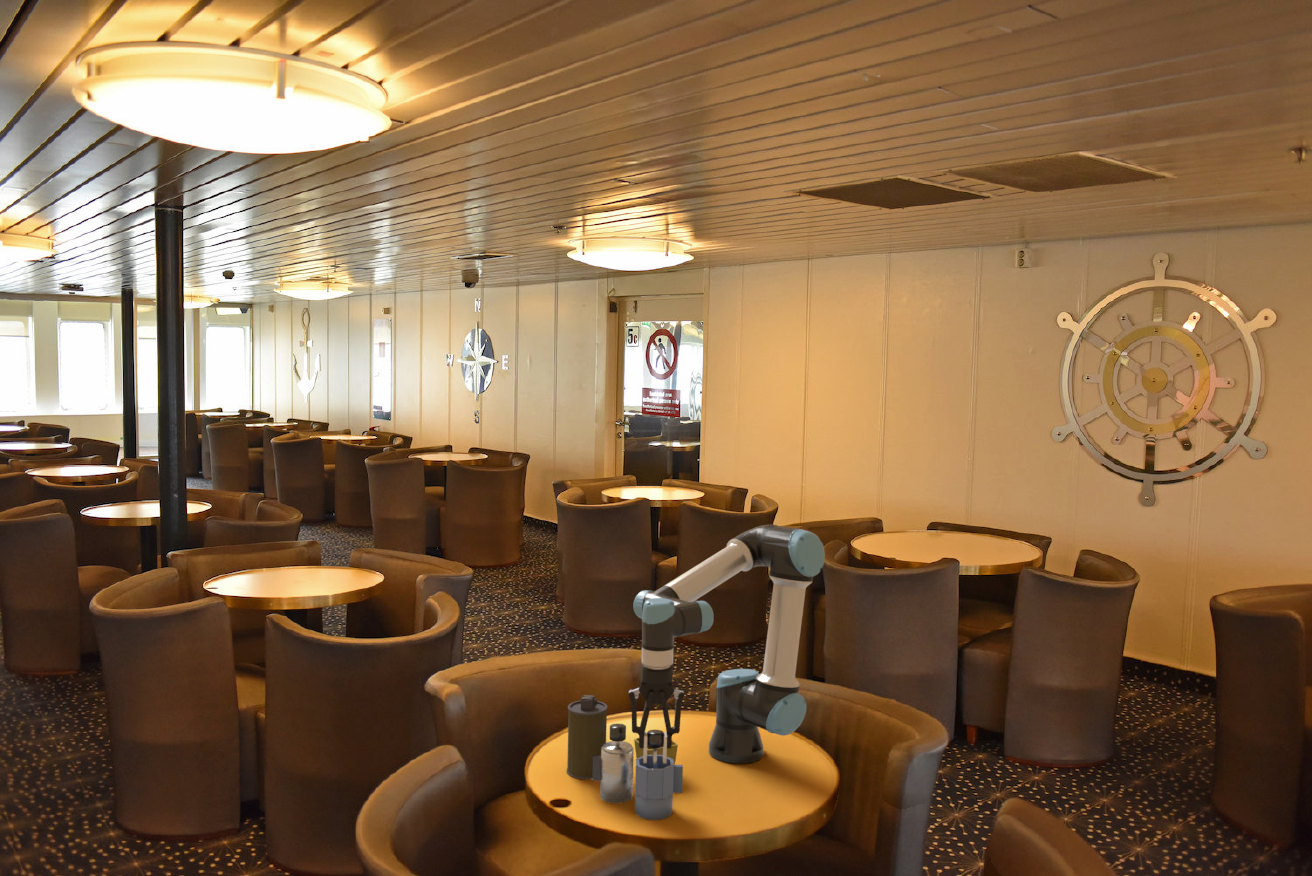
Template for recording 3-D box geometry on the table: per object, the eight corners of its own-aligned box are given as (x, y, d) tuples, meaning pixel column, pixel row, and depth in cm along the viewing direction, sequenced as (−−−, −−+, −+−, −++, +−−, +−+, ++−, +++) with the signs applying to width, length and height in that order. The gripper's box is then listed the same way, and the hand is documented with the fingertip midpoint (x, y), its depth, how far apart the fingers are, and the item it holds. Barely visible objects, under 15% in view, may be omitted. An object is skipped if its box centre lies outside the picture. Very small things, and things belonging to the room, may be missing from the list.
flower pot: (647, 784, 241) (648, 749, 240) (632, 771, 248) (633, 738, 248) (677, 778, 245) (678, 744, 244) (662, 765, 252) (662, 733, 252)
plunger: (667, 783, 229) (668, 727, 228) (668, 795, 222) (669, 738, 221) (640, 783, 228) (641, 727, 227) (640, 795, 222) (641, 737, 221)
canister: (600, 781, 241) (602, 705, 240) (561, 777, 244) (562, 701, 242) (610, 764, 252) (612, 691, 251) (573, 760, 254) (574, 688, 253)
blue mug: (680, 803, 230) (681, 755, 229) (682, 820, 221) (683, 770, 220) (634, 802, 230) (635, 754, 229) (634, 819, 221) (636, 769, 220)
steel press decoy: (632, 789, 237) (634, 720, 236) (632, 803, 229) (634, 732, 228) (592, 788, 237) (594, 720, 236) (591, 803, 229) (593, 732, 228)
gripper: (691, 660, 227) (689, 755, 229) (621, 659, 227) (619, 754, 228) (694, 670, 220) (691, 767, 221) (621, 669, 219) (619, 767, 221)
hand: (654, 760), depth 225 cm, fingers closed on plunger, 4 cm apart
